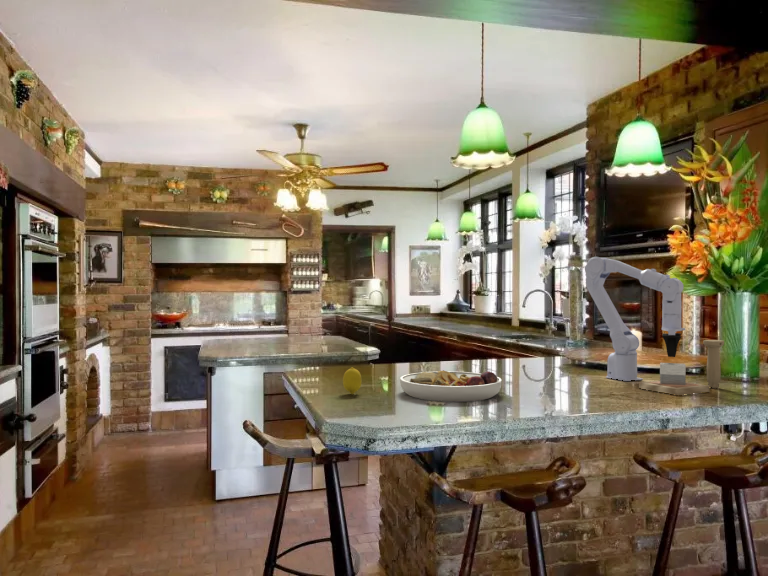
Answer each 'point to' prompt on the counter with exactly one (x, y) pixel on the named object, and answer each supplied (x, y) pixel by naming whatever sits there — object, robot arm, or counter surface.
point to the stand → (674, 387)
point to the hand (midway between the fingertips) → (671, 355)
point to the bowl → (451, 386)
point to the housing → (673, 373)
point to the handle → (713, 362)
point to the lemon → (352, 380)
